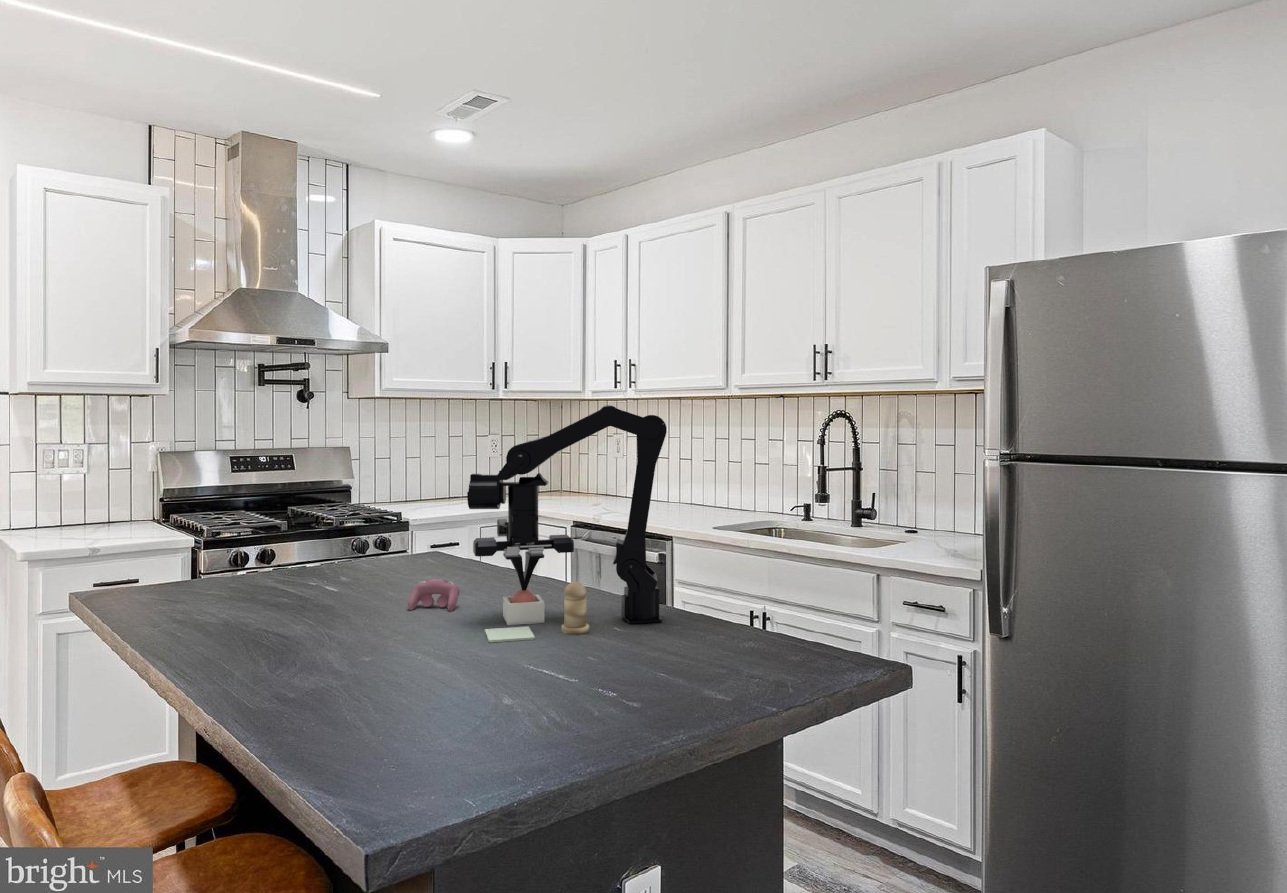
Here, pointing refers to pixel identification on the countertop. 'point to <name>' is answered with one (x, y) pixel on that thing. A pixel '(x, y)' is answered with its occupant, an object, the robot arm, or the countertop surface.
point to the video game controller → (434, 586)
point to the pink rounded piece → (523, 597)
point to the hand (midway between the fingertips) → (523, 589)
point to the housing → (523, 611)
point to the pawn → (575, 609)
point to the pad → (509, 634)
